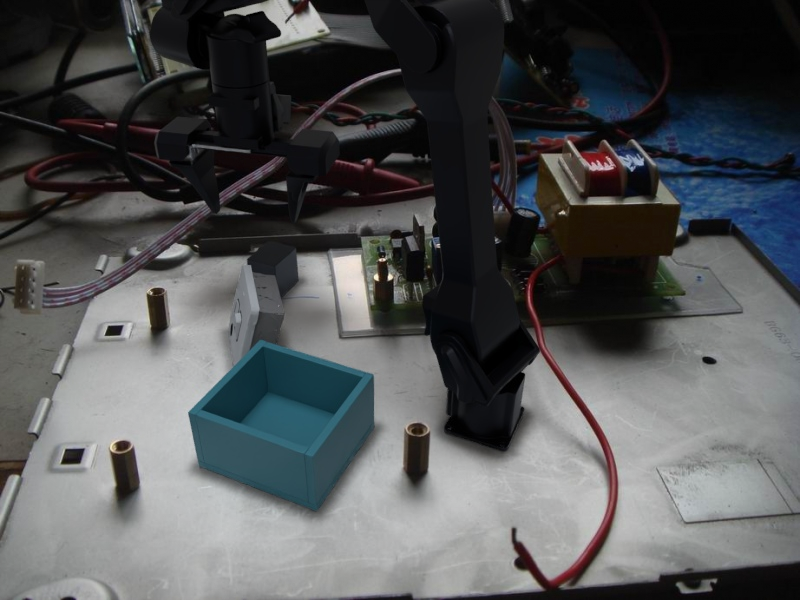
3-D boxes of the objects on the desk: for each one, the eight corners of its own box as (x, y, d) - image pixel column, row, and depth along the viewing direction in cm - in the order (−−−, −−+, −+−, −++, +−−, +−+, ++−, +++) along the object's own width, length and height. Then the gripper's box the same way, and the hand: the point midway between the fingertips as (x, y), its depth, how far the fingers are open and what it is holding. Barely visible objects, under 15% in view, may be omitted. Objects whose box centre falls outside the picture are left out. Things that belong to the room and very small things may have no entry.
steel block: (298, 281, 96) (296, 247, 93) (278, 301, 92) (274, 266, 89) (272, 273, 97) (268, 240, 94) (250, 293, 93) (246, 259, 91)
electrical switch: (227, 331, 87) (226, 262, 82) (272, 328, 88) (273, 260, 83) (235, 383, 80) (233, 311, 74) (283, 379, 81) (286, 308, 76)
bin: (374, 426, 74) (374, 374, 70) (316, 511, 66) (312, 456, 62) (266, 390, 78) (260, 339, 75) (198, 466, 70) (187, 412, 66)
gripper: (351, 62, 80) (354, 194, 89) (189, 49, 83) (207, 178, 92) (320, 97, 71) (327, 240, 80) (140, 81, 74) (165, 220, 83)
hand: (255, 216), depth 84 cm, fingers open, 9 cm apart
